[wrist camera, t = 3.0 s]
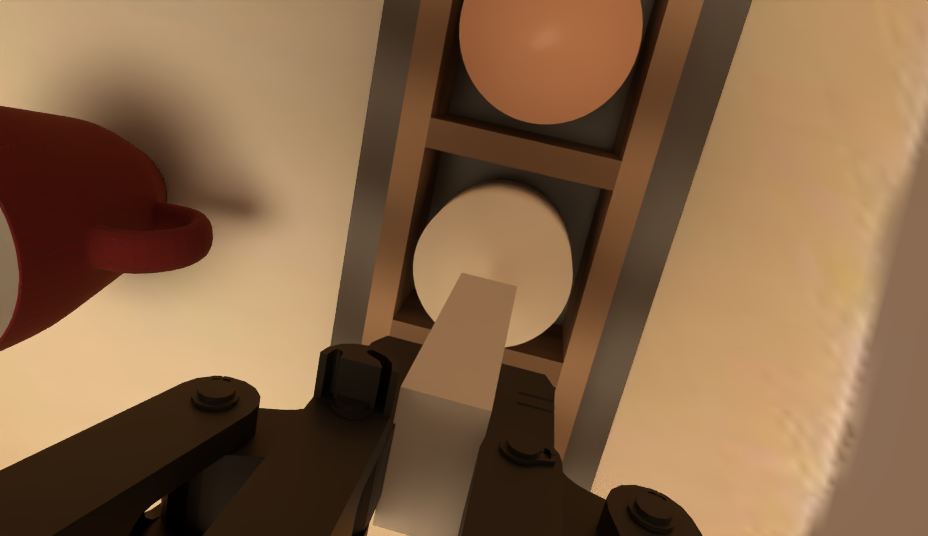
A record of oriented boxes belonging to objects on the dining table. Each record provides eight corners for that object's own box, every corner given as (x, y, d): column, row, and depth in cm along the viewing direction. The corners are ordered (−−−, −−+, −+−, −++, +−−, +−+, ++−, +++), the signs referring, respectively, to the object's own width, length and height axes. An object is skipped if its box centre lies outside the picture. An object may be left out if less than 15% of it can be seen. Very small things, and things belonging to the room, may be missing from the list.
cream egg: (446, 165, 22) (429, 177, 19) (586, 198, 22) (591, 215, 19) (420, 295, 24) (400, 326, 21) (550, 328, 23) (549, 364, 20)
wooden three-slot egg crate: (410, -155, 22) (379, -206, 18) (777, -83, 21) (826, -122, 17) (315, 453, 30) (280, 507, 26) (576, 526, 29) (580, 592, 25)
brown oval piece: (491, -61, 20) (480, -88, 17) (649, -29, 19) (666, -50, 16) (459, 101, 21) (443, 103, 18) (604, 134, 21) (612, 141, 18)
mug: (259, 102, 25) (79, 111, 16) (269, 287, 27) (119, 392, 18) (30, 91, 26) (-264, 94, 17) (58, 268, 29) (-186, 357, 19)
